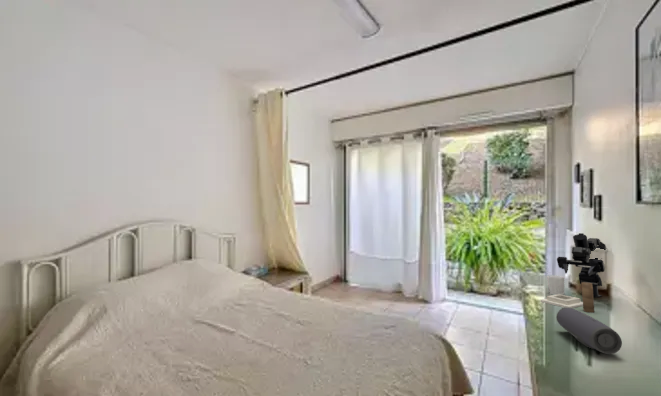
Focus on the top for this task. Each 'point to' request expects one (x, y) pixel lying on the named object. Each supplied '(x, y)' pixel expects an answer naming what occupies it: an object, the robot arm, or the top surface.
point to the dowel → (587, 297)
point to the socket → (563, 301)
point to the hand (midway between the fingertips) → (576, 273)
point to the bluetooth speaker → (589, 331)
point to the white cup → (556, 284)
